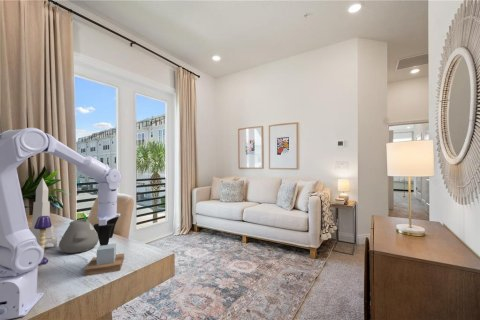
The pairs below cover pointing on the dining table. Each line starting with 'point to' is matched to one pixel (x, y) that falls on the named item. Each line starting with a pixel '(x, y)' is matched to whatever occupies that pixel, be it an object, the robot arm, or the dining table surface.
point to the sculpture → (42, 212)
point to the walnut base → (104, 266)
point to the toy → (78, 237)
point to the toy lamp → (43, 233)
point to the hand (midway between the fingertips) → (106, 241)
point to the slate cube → (106, 254)
